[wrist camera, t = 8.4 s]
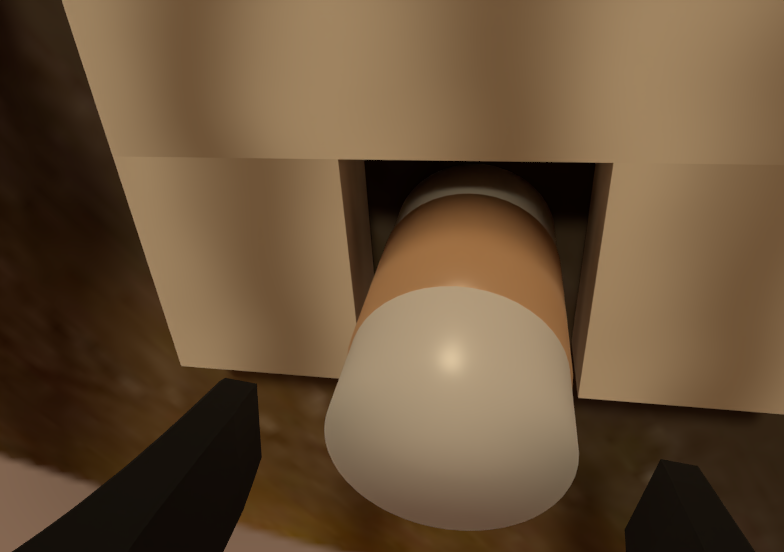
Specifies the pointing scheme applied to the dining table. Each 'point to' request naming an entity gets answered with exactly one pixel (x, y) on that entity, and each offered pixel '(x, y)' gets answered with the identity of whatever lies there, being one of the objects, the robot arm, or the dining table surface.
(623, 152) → the notched board
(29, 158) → the dining table surface
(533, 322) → the bobbin
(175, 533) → the robot arm
